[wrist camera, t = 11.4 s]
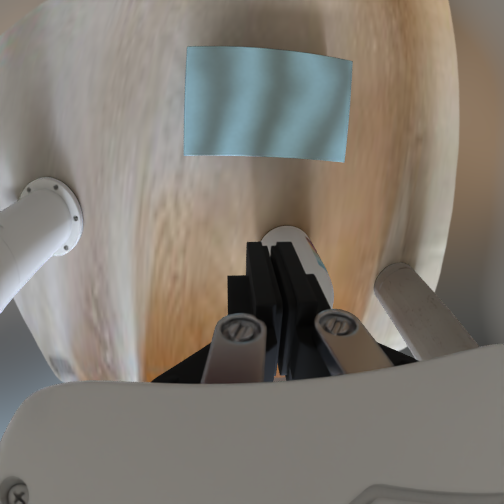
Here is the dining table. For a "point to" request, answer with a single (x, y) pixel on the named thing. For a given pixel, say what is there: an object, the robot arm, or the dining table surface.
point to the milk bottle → (302, 255)
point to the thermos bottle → (420, 314)
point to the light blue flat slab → (266, 103)
